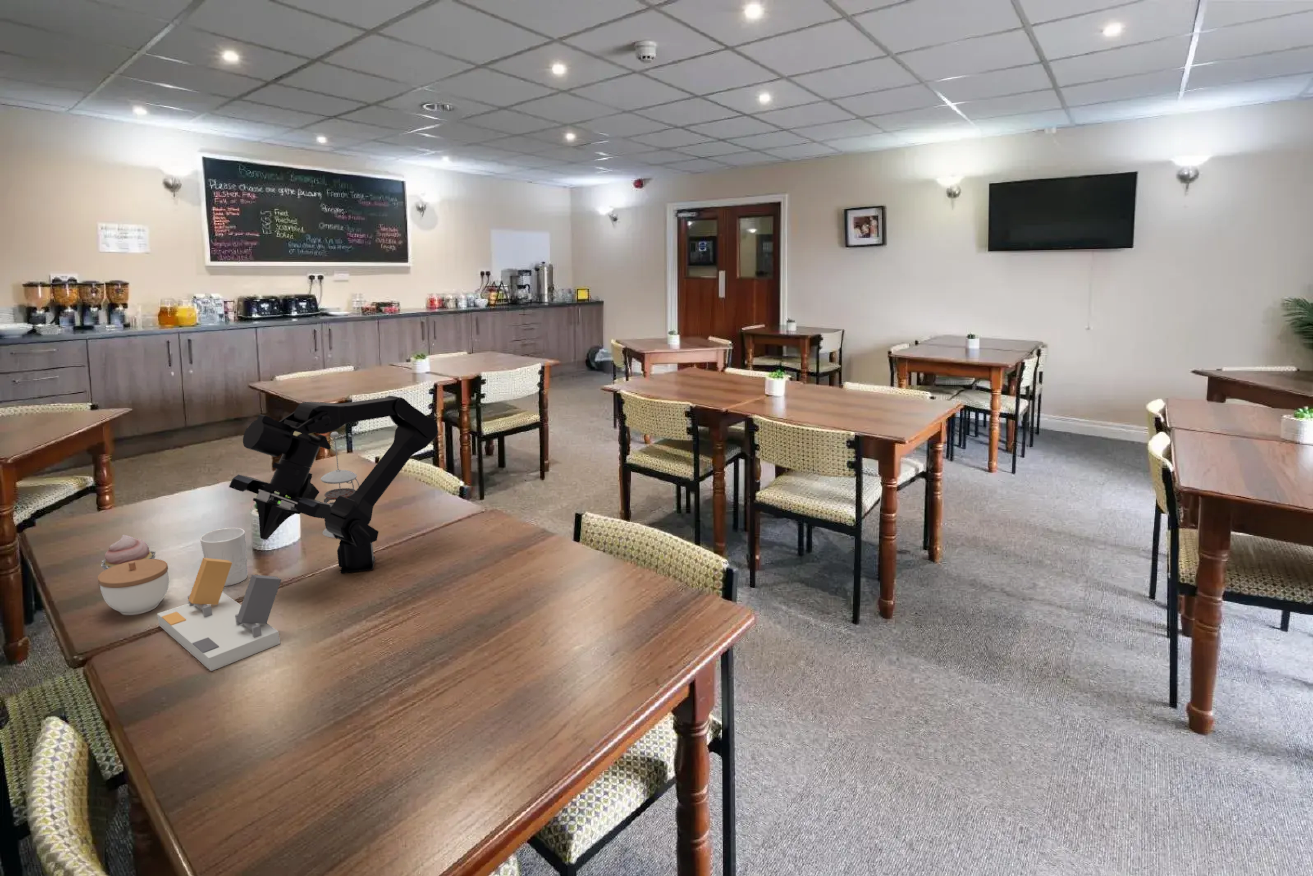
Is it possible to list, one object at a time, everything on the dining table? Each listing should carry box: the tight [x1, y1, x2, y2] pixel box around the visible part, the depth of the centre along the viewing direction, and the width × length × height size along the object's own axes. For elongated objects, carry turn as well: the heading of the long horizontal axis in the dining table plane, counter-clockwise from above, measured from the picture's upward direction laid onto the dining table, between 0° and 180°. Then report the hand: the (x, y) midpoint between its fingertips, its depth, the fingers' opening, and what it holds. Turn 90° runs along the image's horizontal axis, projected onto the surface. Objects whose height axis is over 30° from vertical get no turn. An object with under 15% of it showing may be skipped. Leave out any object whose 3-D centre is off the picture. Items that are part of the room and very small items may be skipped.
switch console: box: [156, 591, 281, 672], centre depth 126 cm, size 11×23×4 cm, turn 52°
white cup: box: [199, 527, 249, 587], centre depth 146 cm, size 8×8×10 cm
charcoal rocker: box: [237, 574, 282, 631], centre depth 124 cm, size 4×5×9 cm
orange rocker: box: [187, 557, 232, 611], centre depth 130 cm, size 4×5×9 cm
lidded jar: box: [97, 558, 170, 616], centre depth 134 cm, size 11×11×9 cm
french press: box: [320, 431, 360, 539], centre depth 172 cm, size 10×12×25 cm
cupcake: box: [100, 534, 157, 571], centre depth 145 cm, size 9×9×10 cm
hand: (263, 539), depth 137 cm, fingers closed
